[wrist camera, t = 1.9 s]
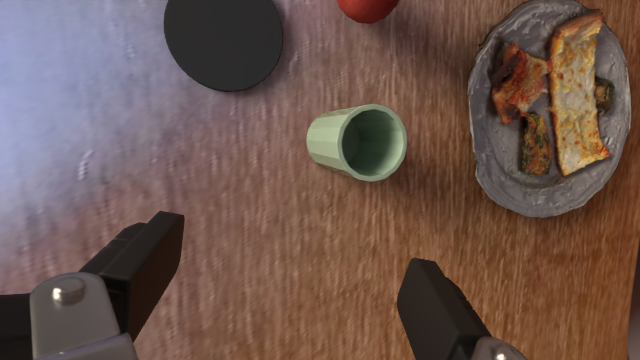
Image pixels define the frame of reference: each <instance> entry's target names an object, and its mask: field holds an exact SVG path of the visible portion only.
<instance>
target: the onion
mask: <svg viewBox="0 0 640 360" xmlns="http://www.w3.org/2000/svg"><path fill="white" fill-rule="evenodd" d="M337 2H338V5H339V7H340V9H341V10H342V11H343V12H344V13H345V14H346V15H347V16H348V17H349V18H351V19H353V20H354V21H356V22H358V23H366V24H371V23H375V22H377V21H379V20H382V19H384V18H385V17H386V16H387V15H388V14H389V13H390V12H391V11H392V10H393V9H394V8H395V7H396V6H397V4H398V2H399V0H337Z"/></svg>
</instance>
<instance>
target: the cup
mask: <svg viewBox="0 0 640 360" xmlns="http://www.w3.org/2000/svg"><path fill="white" fill-rule="evenodd" d="M307 148H308V151H309V154H310V155H311V157H312V159H313V160H314V161H315V162H316V163H317V164H319V165H320V166H322V167H324V168H326V169H329V170H332V171H335V172H338V173H341V174H344V175H347V176H349V177H352V178H355V179H358V180H363V181H368V182H374V181H378V180H382V179H385V178H387V177H388V176H389V175H391V174H392V173H394V172H395V171H396V170H397V169H398V167H399V166H400V164H401V162H402V161H403V159H404V157H405V153H406V148H407V136H406V130H405V127H404V125H403V123H402V121H401V119H400V117H399V116H398V115H397V114H395V113H394V112H393V111H392V110H391V109H390V108H388V107H385V106H381V105H378V104H370V105H364V106H358V107H352V108H347V109H341V110H336V111H330V112H326V113H324V114H322V115H320V116H319V117H317V118H316V119H315V120H314V121H313V123H312V124H311V126H310V128H309V130H308V133H307Z"/></svg>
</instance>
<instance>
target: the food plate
mask: <svg viewBox="0 0 640 360" xmlns="http://www.w3.org/2000/svg"><path fill="white" fill-rule="evenodd" d="M602 10H603V9H589V8H587V7H584V6H583V5H582V4H581V3H579V2H578V1H576V0H529V1H526V2H523V3H522V4H520V5H519V6H517V7H516V8H514V9H513V10H512V11H511V12H510V13H509V14H508V16H506V17H505V18H504V19H503V20H501V21H500V22H499V23H498V24H496V25H494V26H493V27H492V28H491V29H490V31H489V33H488V34H487V35H486V37H485V39H484V41H483V43H482V44H481V45H483V44H484V47H483V48H481V49H480V50H479V51H478V52H477V54H476V56H475V58H476V64H475V66H474V68H471V70H470V72H469V77H468V90H469V101H468V102H469V107H470V110H469V112H470V130H471V131H470V132H471V134H472V137H473V140H472V141H473V145H472V146H473V151H474V154H475V159H476V160H477V164H476V166H477V167H476V172H475V177H476V178H477V180H478V182H479V184H480V186H481V187H482V188H483V190H484V191H485V193H486V194H487V195H488V197H490V199H492V200H493V201H494V202H495V203H496V204H498V205H501V206H502V207H504V208H506V209H510V210H513V211H514V212H517V213H519V214H521V215H523V216H528V217H541V218H545V217H549V216H550V217H551V216H556V215H559V214H562V213H565V212H568V211H570V210H573V209H576V208H578V207H582V206H583V205H585V203H586V202H587V201H588V200H589V199H590V198H592V196H593V195H594V194H595V193H597V192H598V191H599V190H601V188H603V185H604V184H605V183H606V182H607V181H608V180H609V178H610V177H611V175H612V174H613V172H614V171H615V169H616V167H617V165H618V162H619V160H620V157H621V156H622V150H623V146H624V143H625V140H626V137H627V132H628V131H627V130H628V128H627V126H628V117H629V118H630V119H629V130H630V125H631V96H630V87H629V78H628V76H627V74H628V70H627V67H625V62H626V58H625V56H624V55H625V54H624V52H623V50H622V47H621V44H620V43H619V41H618V39H617V37H616V36H615V34H614V32H613V31H612V30H611V29H610V28H609V27H608V26H607V24H606V23H605V22H604V20H605V15H604V14H603V12H602ZM479 47H480V44H479ZM626 65H627V63H626ZM626 70H627V72H626ZM626 78H627V83H626ZM467 95H468V91H467ZM628 108H629V109H628ZM628 113H629V114H628ZM628 115H629V116H628ZM628 135H629V134H628ZM477 170H478V173H477Z"/></svg>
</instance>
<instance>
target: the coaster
mask: <svg viewBox="0 0 640 360" xmlns="http://www.w3.org/2000/svg"><path fill="white" fill-rule="evenodd" d="M164 33H165V38H166V42H167V45H168V48H169V50H170V52H171V54H172V56H173V57H174V59H175V61H176V62H177V64H178V65H179V66H180V67H181V69H182V70H183V71H184V72H185V73H186V74H187V75H188V76H190V77H191V78H192V79H194V80H195V81H197V82H198V83H200V84H202V85H204V86H206V87H208V88H212V89H215V90H220V91H229V92H232V91H241V90H245V89H248V88H251V87H253V86H255V85H257V84H259V83H260V82H261V81H263V80H264V79H265V78H266V77H267V76H268V75H269V74H270V73H271V72H272V70H273V69H274V67H275V66H276V64H277V62H278V60H279V57H280V54H281V51H282V44H283V31H282V25H281V20H280V17H279V15H278V12H277V10H276V8H275V6H274V4H273V3H272V1H271V0H168V3H167V5H166V9H165V13H164Z"/></svg>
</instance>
